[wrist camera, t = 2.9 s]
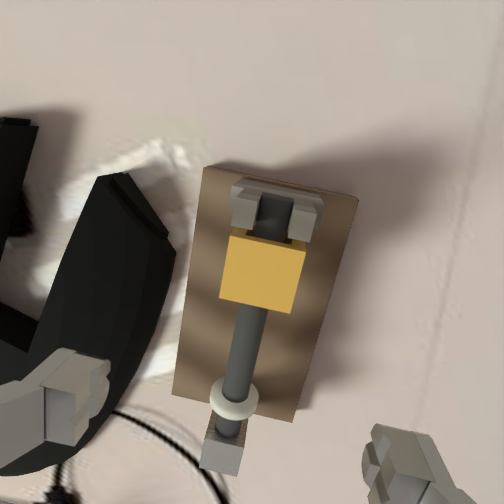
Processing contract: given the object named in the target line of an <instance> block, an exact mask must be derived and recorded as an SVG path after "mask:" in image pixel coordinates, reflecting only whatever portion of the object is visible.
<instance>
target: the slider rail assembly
mask: <svg viewBox="0 0 504 504" xmlns="http://www.w3.org/2000/svg"><path fill="white" fill-rule="evenodd" d="M262 194H274V195H279V196H283V197H287V198H290V199H292V200H293V201H294V203H293V208H292V212H291V216H290V220H289V225H288V238H291V239H295V240H300V241H304V242H305V248H306V255H305V259H304V262H303V266H302V270H301V274H300V278H299V282H298V285H297V289H296V293H295V297H294V301H293V305H292V308H291V312H290V314H289V313H284V312H280V311H275V310H271V309H268V314H267V318H266V322H265V326H264V331H263V335H262V339H261V343H260V348H259V352H258V356H257V360H256V365H255V369H254V373H253V377H252V382H251V383H252V384H253V385H254V386H255V387H256V389H257V391H258V394H259V399H258V403H257V407H256V410H255V412H254V413H253V414H256V415H261V416H265V417H269V418H274V419H278V420H282V421H286V422H291V423H292V421H293V418H294V415H295V411H296V408H297V405H298V401H299V398H300V395H301V391H302V388H303V385H304V381H305V378H306V375H307V371H308V368H309V365H310V361H311V358H312V355H313V351H314V348H315V345H316V341H317V338H318V335H319V331H320V328H321V325H322V321H323V318H324V315H325V311H326V308H327V305H328V301H329V298H330V295H331V291H332V288H333V285H334V281H335V278H336V275H337V271H338V268H339V265H340V261H341V258H342V255H343V251H344V248H345V245H346V241H347V238H348V235H349V231H350V228H351V225H352V221H353V218H354V215H355V211H356V208H357V205H358V201H359V200H358V199H357V198H356V197H353V196H349V195H344V194H339V193H334V192H329V191H325V190H320V189H315V188H310V187H305V186H301V185H296V184H291V183H286V182H281V181H277V180H272V179H267V178H262V177H257V176H253V175H248V174H243V173H238V172H234V171H229V170H224V169H219V168H214V167H210V166H207V167H204V168H203V175H202V182H201V189H200V196H199V203H198V210H197V217H196V224H195V232H194V239H193V246H192V253H191V260H190V267H189V274H188V281H187V288H186V296H185V303H184V310H183V317H182V324H181V331H180V338H179V345H178V353H177V360H176V367H175V374H174V381H173V388H172V395H176V396H180V397H184V398H188V399H193V400H197V401H201V402H205V403H210V394H211V389H212V385H213V384H214V382H215V381H217V380H218V379H220V378H222V377H225V373H226V368H227V363H228V358H229V353H230V348H231V343H232V338H233V333H234V329H235V324H236V319H237V314H238V309H239V304H240V303H239V302H235V301H230V300H226V299H221V298H219V294H220V288H221V283H222V277H223V272H224V266H225V260H226V255H227V249H228V243H229V238H230V235H231V233H232V231H233V230H234V228H235V227H239V228H244V229H249V230H252V229H253V227H254V224H255V222H256V219H257V215H258V210H259V205H260V200H261V195H262Z"/></svg>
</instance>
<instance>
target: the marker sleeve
mask: <svg viewBox="0 0 504 504" xmlns="http://www.w3.org/2000/svg"><path fill="white" fill-rule="evenodd" d="M255 224H256V222H255ZM255 224H254V227H253V229H252V230H249V229H244V228H239V227H235V228H234V230H233V231H232V233H231V235H230V238H229V243H228V249H227V255H226V260H225V266H224V272H223V277H222V283H221V288H220V294H219V298H221V299H226V300H230V301H235V302H239V303H244V304H248V305H253V306H257V307H262V308H266V309H271V310H275V311H280V312H284V313H289V314H290V312H291V308H292V305H293V301H294V297H295V293H296V289H297V285H298V282H299V278H300V274H301V270H302V266H303V262H304V259H305V255H306V248H305V242H304V241H300V240H295V239H291V238H288V229H287V233H286V237H285V242H284V243H280V242H276V241H271V240H266V239H262V238H257V237H253V234H254V229H255Z"/></svg>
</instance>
